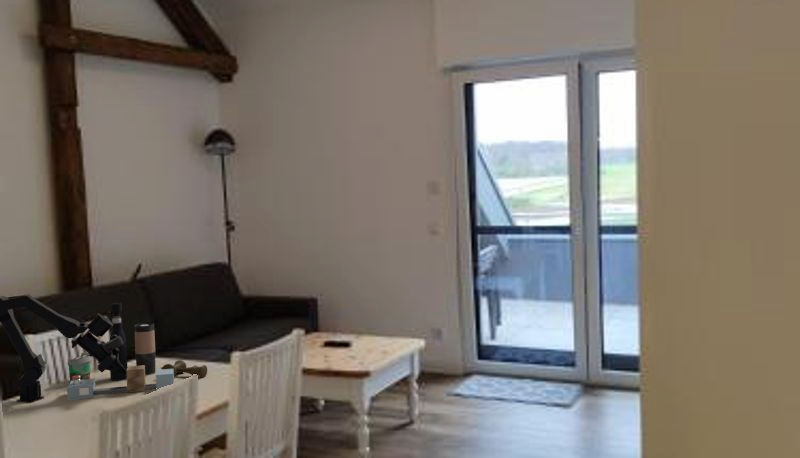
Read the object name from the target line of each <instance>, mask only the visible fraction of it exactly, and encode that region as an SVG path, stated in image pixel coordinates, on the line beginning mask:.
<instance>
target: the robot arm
mask: <svg viewBox="0 0 800 458" xmlns="http://www.w3.org/2000/svg"><path fill="white" fill-rule="evenodd" d="M18 308H25V309H26V310H28V311H30V312H32V313H33V314H35V315H37V316H38V317H40V318H42V319H43V320H44V321H46V322H48V323H50V324H51V325H52V326H54V328H55V329H56V330H57V331H58V332H59V333H60V334H61V335H62V336H63V337H65V338H67V339H71V340H70V341H71V342H70V343H71V349H74V348H75V347H76V346H78V347H80V348H81V349H82V350H84V352H85V353H89V356H90V357H92V358H93V359H95V360H96V361H97V363H98V364H97V370H98V371H99V372H101V373H104V371H109V372H110V371H114V372H118V373H121V374H127V371H126V369H125V368H124V366H123V365H122V364H121V362H120V361H119V353H118V354H117V355H116V356H115V355H114V354H115V353H116V352H118V351H119V349H118V348H117V347H120V346H122V345H123V343H124V342H123V340H122V337H120V336H117V335H113V336H111V340H110V339H108V340H109V341H107V342H105V341H104V340H101V341H100V340H99V339H98V338H99V337H100V338H101V337H103V336H104V335H106V333H107V332H108V331H110V329H112V326H113V322H112V320H110V319H108V318H107V317H105V316H103V315H102V314H100V313H97V314H96V316H95V317H94V318H93V319H92V320H91V321H90V322H89V323H87V322H80V321H78V320H77V319H74V318H71V317H69V316H65V315H62V314H60V313H58V312H57V311H55V310H53V309H52V308H51V307H48V306H47V305H45V304H44V303H42V302H41V301H39V300H38V299H36V298H34V297H33V296H32V295H31V294H27V293H25V294H22V295H14V296H9V297H7V296H5V295H0V323H1V325H2V327H3V328H4V330H5V332H6V334H7V335H8V338H9V340H10V342H11V343H12V345H13V346H14V349H15V350H16V352H17V354H18V355H19V358H20V361H21V366H22V370H23V375H22V376H21V377H20V378H19V379H18V380H17V382H18V387H19V398H18V399H16V402H21V403H28V404H29V403H30V404H31V403H34V402H36V401H39V400H42V399H44V398H45V396H43V395H42V386H41V381H40V378H41V377H42V376H43V374H44V373H45V372H46V369H47V368H46V364H47V362H46V361H45V360H44V358H43V355H42V354H41V353H38V355H37V354H36V353H35V352H34V351H33V350H32V347H31V346H30V344H29V342H28V340H27V339H26V336H25V335H24V333H23V331H22V329H21V327H20V326H19V323H18V322H17V320H16V318H15V315H14V309H18ZM83 333H84V334H83ZM75 337H76V338H75ZM74 338H75V339H74ZM113 355H114V356H113Z"/></svg>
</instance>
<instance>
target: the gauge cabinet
mask: <svg viewBox="0 0 800 458" xmlns="http://www.w3.org/2000/svg"><path fill="white" fill-rule="evenodd" d="M69 382H70V381H69ZM80 382H81V384H78V385H73V381H71V382H70V383H69V384H68V386H67V388H66V389H67V393H66V395H67V400H68V401H73V400H82V399H83V400H84V399H92V398H93V397H94V395H93V390H94V389H96V378H90V379H85V380H80Z"/></svg>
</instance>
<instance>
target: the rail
mask: <svg viewBox="0 0 800 458" xmlns="http://www.w3.org/2000/svg"><path fill="white" fill-rule="evenodd" d="M145 384H146V383H145ZM156 388H157V387H156V383H147V384H146V385H145V391H153V390H152V389H155V390H157V389H156ZM121 393H128V392H127V385H125V386H115V387H114V386H113V387H102V388H95V389H94V390H93V396H99V395H107V394H108V395H109V394H121Z"/></svg>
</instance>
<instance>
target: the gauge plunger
mask: <svg viewBox="0 0 800 458" xmlns="http://www.w3.org/2000/svg"><path fill="white" fill-rule="evenodd" d="M80 378H81V376H80V375H77V376H73V377H72V379H73V385H78V384H81V382H80Z"/></svg>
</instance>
